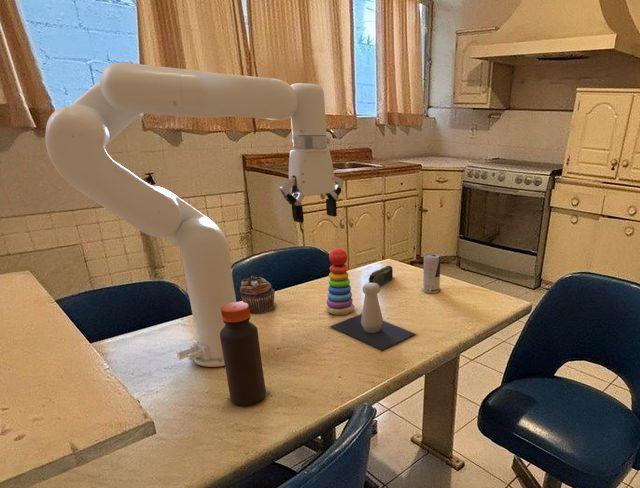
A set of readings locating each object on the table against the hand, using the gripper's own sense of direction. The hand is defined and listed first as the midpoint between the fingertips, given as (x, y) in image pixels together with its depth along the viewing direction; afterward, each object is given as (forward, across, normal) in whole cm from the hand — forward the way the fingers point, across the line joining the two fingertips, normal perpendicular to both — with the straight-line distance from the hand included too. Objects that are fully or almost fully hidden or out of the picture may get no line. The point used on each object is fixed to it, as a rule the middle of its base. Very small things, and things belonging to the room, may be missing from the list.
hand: (315, 218), depth 109 cm
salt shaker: (+30, -9, +9) cm, 33 cm away
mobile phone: (+31, -36, -16) cm, 50 cm away
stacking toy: (+31, -12, -8) cm, 34 cm away
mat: (+30, -9, +9) cm, 33 cm away
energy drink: (+31, -43, +1) cm, 53 cm away
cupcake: (+31, +3, -27) cm, 41 cm away
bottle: (+31, +29, +13) cm, 44 cm away
